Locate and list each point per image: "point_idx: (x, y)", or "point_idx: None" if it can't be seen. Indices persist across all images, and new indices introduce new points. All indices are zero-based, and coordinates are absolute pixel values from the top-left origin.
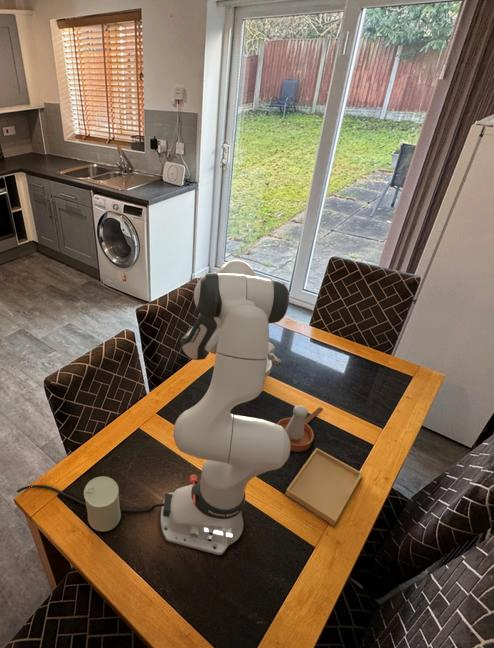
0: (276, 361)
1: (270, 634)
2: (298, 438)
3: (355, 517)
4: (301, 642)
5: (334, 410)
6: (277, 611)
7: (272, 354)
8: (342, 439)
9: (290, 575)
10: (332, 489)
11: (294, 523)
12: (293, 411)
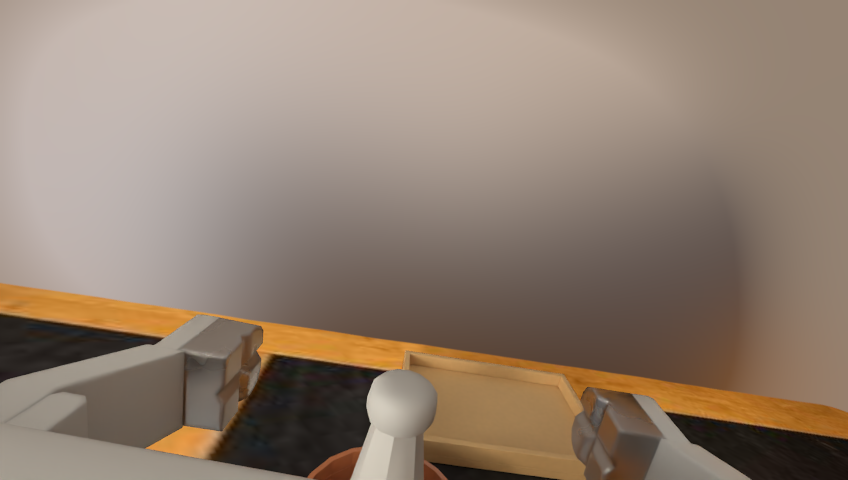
0: (239, 348)
1: (809, 429)
2: None
3: None
4: (750, 397)
5: None
6: (780, 429)
7: (46, 387)
8: (287, 406)
9: (719, 427)
10: (489, 396)
11: None
12: (424, 423)
